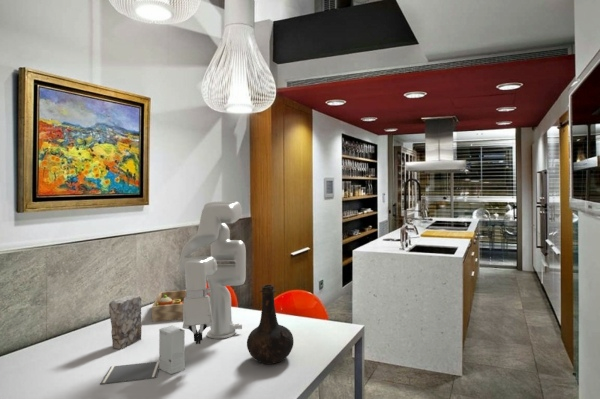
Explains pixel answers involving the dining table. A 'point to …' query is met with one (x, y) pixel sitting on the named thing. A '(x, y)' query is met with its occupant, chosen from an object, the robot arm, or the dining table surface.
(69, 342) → the dining table surface
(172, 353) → the skincare box
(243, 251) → the robot arm
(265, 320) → the glass bottle
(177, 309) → the crate
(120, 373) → the mat
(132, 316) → the stone block
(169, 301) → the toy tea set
